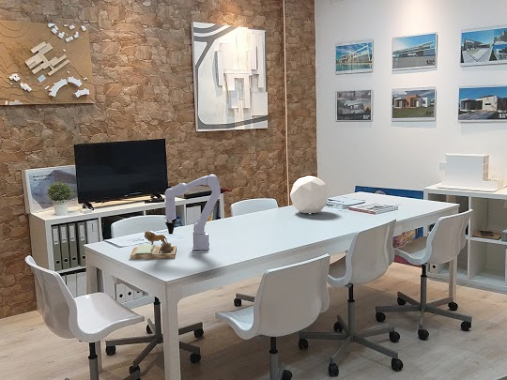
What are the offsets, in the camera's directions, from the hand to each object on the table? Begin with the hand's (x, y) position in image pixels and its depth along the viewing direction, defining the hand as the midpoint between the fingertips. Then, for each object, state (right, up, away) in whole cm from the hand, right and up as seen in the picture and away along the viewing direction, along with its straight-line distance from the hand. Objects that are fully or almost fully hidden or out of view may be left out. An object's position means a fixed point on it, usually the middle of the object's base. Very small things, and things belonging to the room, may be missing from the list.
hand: (171, 232), depth 324 cm
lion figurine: (-10, -9, +10) cm, 17 cm away
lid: (-13, -9, -11) cm, 19 cm away
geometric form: (+90, +7, +104) cm, 138 cm away
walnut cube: (-1, -11, -9) cm, 14 cm away
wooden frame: (-8, -12, -10) cm, 17 cm away
